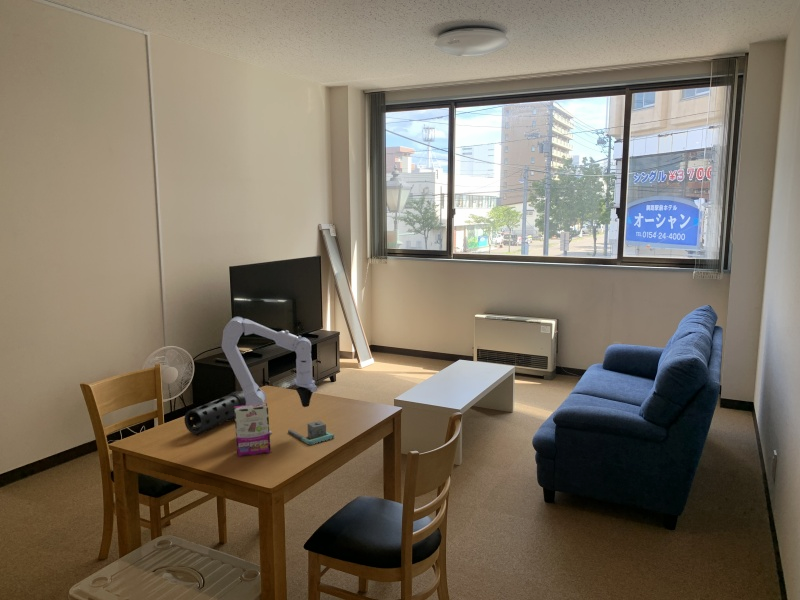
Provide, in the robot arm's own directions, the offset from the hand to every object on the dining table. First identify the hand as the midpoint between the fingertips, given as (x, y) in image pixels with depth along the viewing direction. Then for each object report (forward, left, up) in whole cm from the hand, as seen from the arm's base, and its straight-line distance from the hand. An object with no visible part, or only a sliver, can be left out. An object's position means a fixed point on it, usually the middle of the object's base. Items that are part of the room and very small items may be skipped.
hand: (305, 406), depth 223 cm
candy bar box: (-24, -7, -10) cm, 27 cm away
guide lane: (-1, -6, -9) cm, 11 cm away
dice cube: (0, -8, -10) cm, 13 cm away
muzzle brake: (-22, +28, -10) cm, 37 cm away
